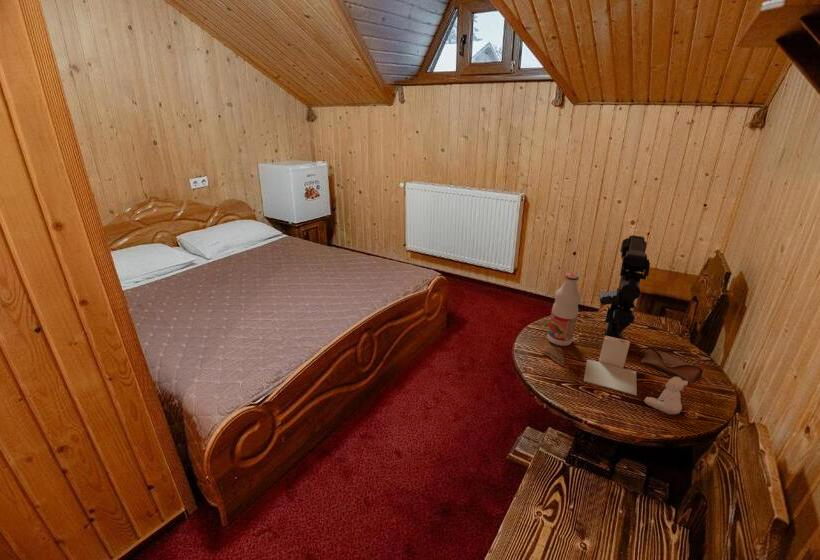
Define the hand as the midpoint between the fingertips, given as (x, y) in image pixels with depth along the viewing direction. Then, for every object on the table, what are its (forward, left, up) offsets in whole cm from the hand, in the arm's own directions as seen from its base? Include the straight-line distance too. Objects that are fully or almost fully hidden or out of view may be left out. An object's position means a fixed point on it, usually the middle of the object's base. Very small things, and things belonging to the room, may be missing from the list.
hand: (618, 326), depth 147 cm
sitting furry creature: (+25, +16, -12) cm, 32 cm away
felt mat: (+16, 0, -12) cm, 20 cm away
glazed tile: (+7, 0, -12) cm, 14 cm away
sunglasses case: (0, +19, -13) cm, 23 cm away
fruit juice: (-1, -19, -12) cm, 23 cm away
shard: (+11, -18, -13) cm, 24 cm away
